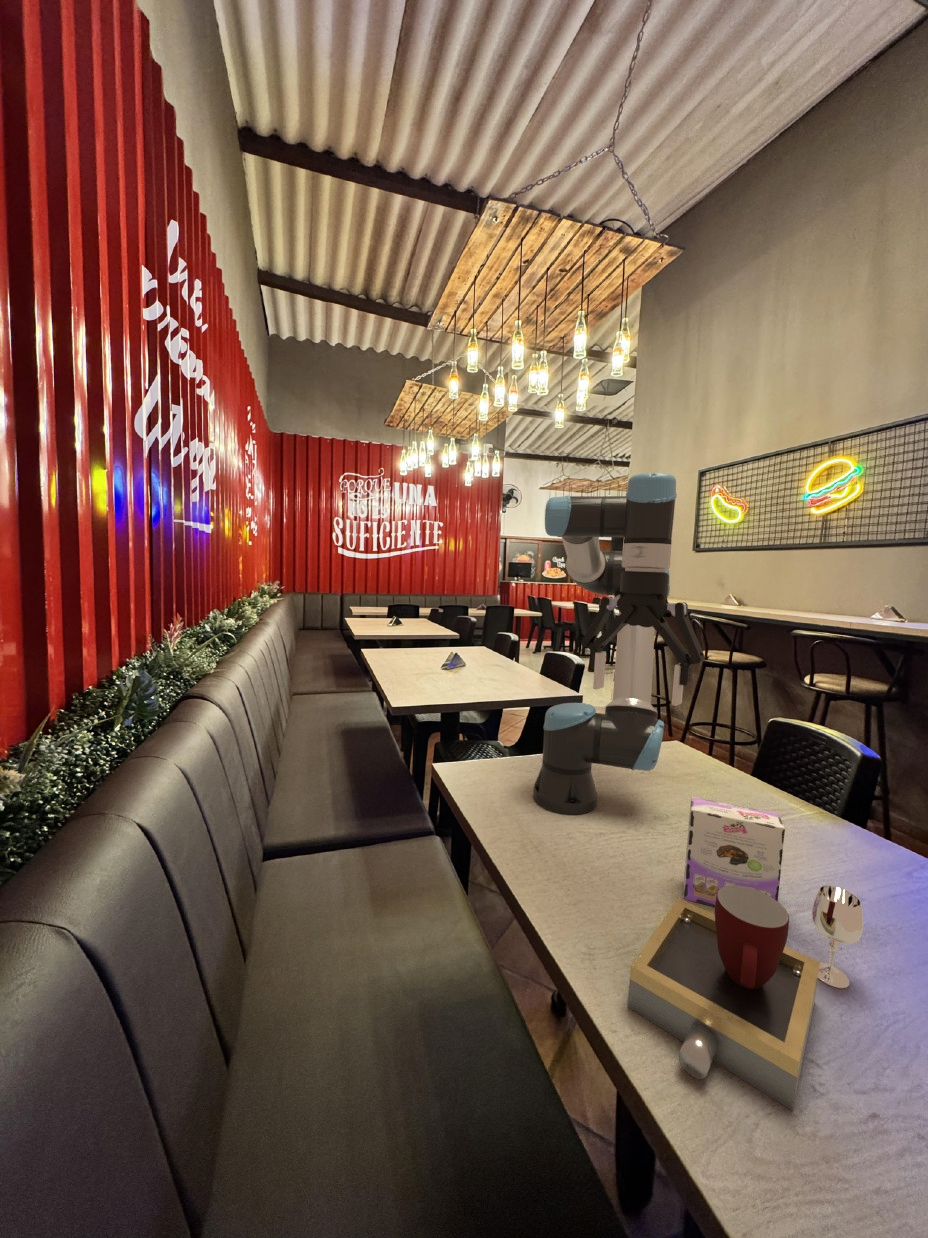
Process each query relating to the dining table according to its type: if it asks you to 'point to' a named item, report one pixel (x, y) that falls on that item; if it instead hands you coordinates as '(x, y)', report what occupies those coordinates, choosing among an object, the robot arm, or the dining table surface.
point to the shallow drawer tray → (724, 1005)
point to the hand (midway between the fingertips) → (635, 695)
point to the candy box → (731, 850)
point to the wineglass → (836, 927)
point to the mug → (749, 934)
